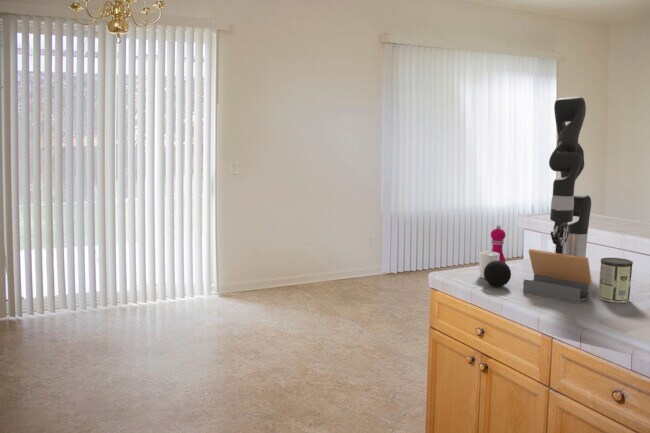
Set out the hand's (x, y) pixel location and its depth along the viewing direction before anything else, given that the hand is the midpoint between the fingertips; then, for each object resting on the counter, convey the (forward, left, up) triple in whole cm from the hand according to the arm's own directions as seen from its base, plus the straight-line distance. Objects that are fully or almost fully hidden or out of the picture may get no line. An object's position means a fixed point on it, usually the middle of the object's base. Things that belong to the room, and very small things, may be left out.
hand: (558, 255), depth 215 cm
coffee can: (-9, +17, -15) cm, 25 cm away
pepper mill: (-17, -32, -15) cm, 39 cm away
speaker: (+5, -21, -15) cm, 26 cm away
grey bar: (+1, -1, -14) cm, 14 cm away
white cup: (-6, -30, -15) cm, 34 cm away
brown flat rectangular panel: (-1, 0, -5) cm, 5 cm away
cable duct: (+1, 0, -15) cm, 15 cm away
